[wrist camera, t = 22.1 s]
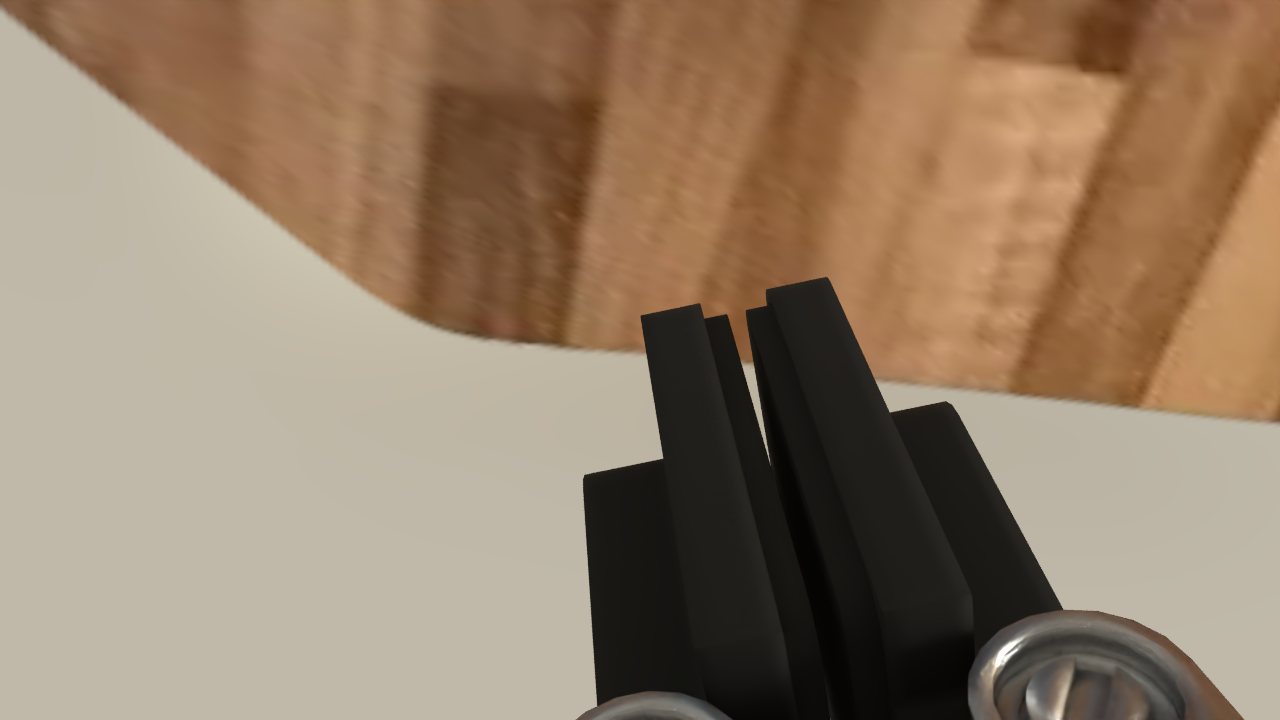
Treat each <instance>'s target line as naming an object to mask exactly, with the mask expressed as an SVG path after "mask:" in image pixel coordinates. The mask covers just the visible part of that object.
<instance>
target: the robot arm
mask: <svg viewBox="0 0 1280 720" xmlns="http://www.w3.org/2000/svg"><path fill="white" fill-rule="evenodd" d="M766 301H767V306H764V307H759V308H754V309H749V310H746V319H747V325H748V332H749V338H750V344H751V350H752V356H753V362H754V368H755V373H756V379H757V386H758V392H759V397H760V403H761V409H762V416H763V422H764V427H765V433H766V439H767V445H768V451H769V458H770V462H769V459H768V455H767V452H766V448H765V444H764V442H763V437H762V435H761V431H760V427H759V424H758V420H757V417H756V413H755V410H754V406H753V403H752V399H751V396H750V392H749V389H748V385H747V382H746V378H745V375H744V371H743V368H742V364H741V361H740V357H739V354H738V350H737V347H736V343H735V340H734V336H733V333H732V329H731V326H730V322H729V319H728V316H727V314H725V315H720V316H716V317H711V318H706V319H704V317H703V313H702V309H701V305H700V303H699V304H694V305H689V306H684V307H680V308H675V309H670V310H665V311H660V312H656V313H651V314H646V315H641V323H642V329H643V335H644V341H645V347H646V354H647V360H648V366H649V372H650V378H651V384H652V391H653V397H654V403H655V409H656V415H657V422H658V428H659V434H660V440H661V446H662V452H663V459H660V460H655V461H650V462H645V463H640V464H636V465H631V466H626V467H621V468H616V469H611V470H607V471H601V472H596V473H591V474H587V475H584V478H583V493H584V510H585V525H586V540H587V555H588V570H589V586H590V602H591V617H592V633H593V646H594V647H593V648H594V663H595V679H596V694H597V707H595V708H593V709H591V710H588V711H587V712H585V713H584V714H582V715H581V716H580V717H579V718H578V719H576V720H1244V719H1243V718H1242V717H1241V715H1240V714H1239V713H1238V712H1237V711H1236V710H1235V708H1234V707H1233V706H1232V705H1231V704H1230V703H1229V702H1228V701H1227V699H1226V698H1225V697H1224V696H1223V695H1222V693H1221V692H1220V691H1219V690H1218V689H1217V688H1216V687H1215V685H1213V683H1212V682H1211V681H1210V680H1209V679H1208V677H1206V675H1205V674H1204V673H1203V672H1202V671H1201V669H1200V668H1199V667H1198V666H1197V665H1196V664H1195V662H1194V661H1193V660H1192V659H1191V658H1190V657H1189V656H1187V655H1186V654H1185V653H1184V652H1183V651H1182V650H1180V649H1179V648H1178V647H1177V646H1176V645H1175V644H1174V643H1172V642H1171V641H1170V640H1169V639H1168V638H1167V637H1165V636H1163V635H1161V634H1159V633H1158V632H1155V631H1153V630H1152V629H1150V628H1148V627H1146V626H1144V625H1142V624H1140V623H1138V622H1136V621H1134V620H1130V619H1127V618H1123V617H1119V616H1115V615H1110V614H1107V613H1103V612H1099V611H1082V610H1063V608H1062V606H1061V604H1060V602H1059V600H1058V599H1057V597H1056V595H1055V593H1054V591H1053V589H1052V587H1051V586H1050V584H1049V582H1048V580H1047V578H1046V576H1045V574H1044V573H1043V571H1042V569H1041V567H1040V565H1039V563H1038V561H1037V560H1036V558H1035V556H1034V554H1033V552H1032V550H1031V548H1030V547H1029V545H1028V543H1027V541H1026V539H1025V537H1024V535H1023V534H1022V532H1021V530H1020V528H1019V526H1018V524H1017V523H1016V521H1015V519H1014V517H1013V515H1012V513H1011V511H1010V509H1009V508H1008V506H1007V504H1006V502H1005V500H1004V498H1003V496H1002V495H1001V493H1000V491H999V489H998V487H997V485H996V484H995V482H994V480H993V478H992V476H991V474H990V472H989V470H988V469H987V467H986V465H985V463H984V461H983V459H982V457H981V455H980V454H979V452H978V450H977V448H976V446H975V444H974V442H973V441H972V439H971V437H970V435H969V433H968V431H967V430H966V428H965V426H964V424H963V422H962V421H961V418H960V416H959V415H958V413H957V412H956V410H955V409H954V407H953V406H952V405H951V404H950V403H948V402H946V401H945V402H940V403H935V404H930V405H925V406H920V407H915V408H911V409H906V410H901V411H896V412H891V413H890V412H889V410H888V408H887V406H886V403H885V401H884V399H883V397H882V395H881V392H880V390H879V388H878V386H877V384H876V381H875V379H874V377H873V375H872V373H871V370H870V368H869V366H868V364H867V361H866V359H865V357H864V355H863V353H862V350H861V348H860V346H859V344H858V342H857V339H856V337H855V335H854V333H853V331H852V328H851V326H850V324H849V322H848V320H847V317H846V315H845V313H844V311H843V309H842V306H841V304H840V302H839V300H838V298H837V295H836V293H835V291H834V289H833V286H832V284H831V282H830V281H829V279H828V278H827V277H824V278H819V279H814V280H809V281H805V282H800V283H795V284H790V285H785V286H781V287H776V288H771V289H766ZM770 464H771V465H770ZM830 718H831V719H830Z"/></svg>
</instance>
